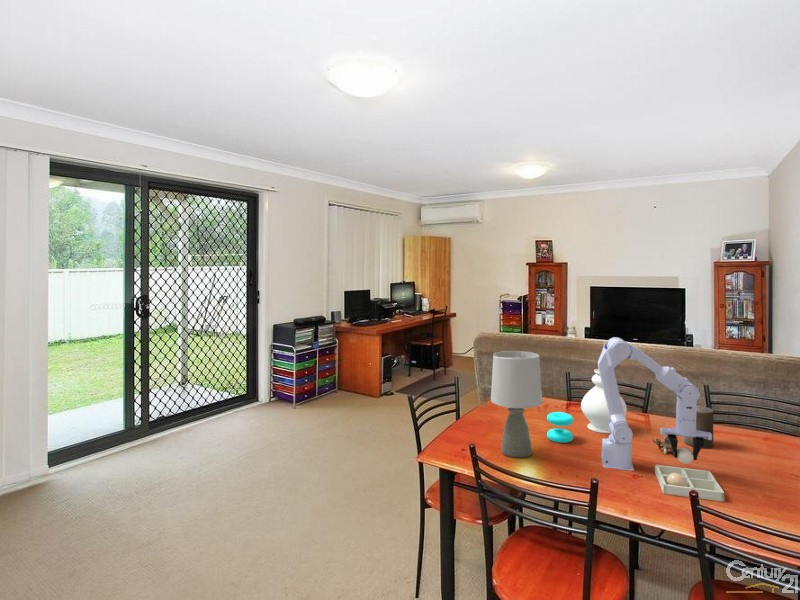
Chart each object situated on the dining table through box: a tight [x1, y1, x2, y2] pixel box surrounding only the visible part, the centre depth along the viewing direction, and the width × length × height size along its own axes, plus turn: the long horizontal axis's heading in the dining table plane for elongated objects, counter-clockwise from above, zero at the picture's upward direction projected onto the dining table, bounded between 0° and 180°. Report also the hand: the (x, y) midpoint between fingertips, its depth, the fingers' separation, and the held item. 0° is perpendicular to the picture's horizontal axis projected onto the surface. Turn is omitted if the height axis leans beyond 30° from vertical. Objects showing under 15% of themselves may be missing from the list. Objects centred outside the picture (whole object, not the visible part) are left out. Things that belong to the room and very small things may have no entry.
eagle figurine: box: [651, 435, 679, 455], centre depth 168 cm, size 8×7×9 cm
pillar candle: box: [683, 405, 715, 449], centre depth 177 cm, size 10×10×15 cm
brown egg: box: [667, 473, 686, 487], centre depth 140 cm, size 5×5×5 cm
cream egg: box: [676, 447, 694, 464], centre depth 154 cm, size 5×5×5 cm
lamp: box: [490, 350, 543, 459], centre depth 171 cm, size 19×19×37 cm
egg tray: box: [654, 464, 725, 503], centre depth 142 cm, size 15×15×3 cm
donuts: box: [546, 411, 574, 444], centre depth 184 cm, size 10×10×10 cm
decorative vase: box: [580, 368, 628, 434], centre depth 196 cm, size 18×18×25 cm
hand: (684, 457), depth 154 cm, fingers closed on cream egg, 5 cm apart
